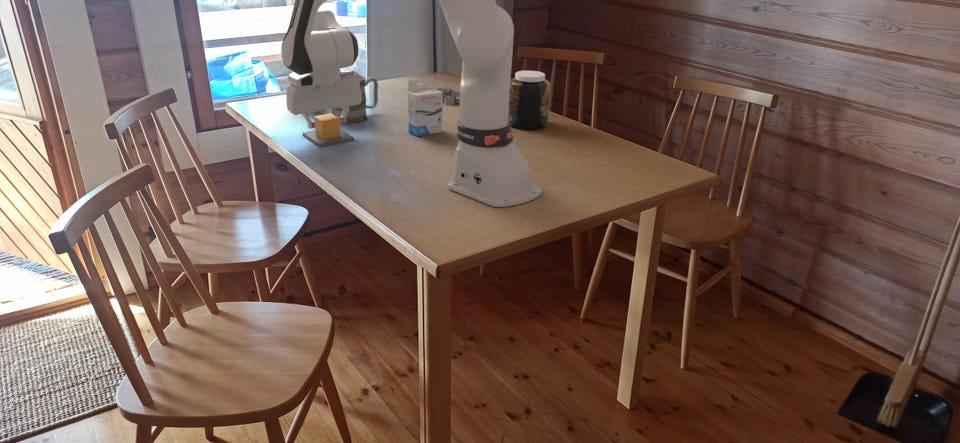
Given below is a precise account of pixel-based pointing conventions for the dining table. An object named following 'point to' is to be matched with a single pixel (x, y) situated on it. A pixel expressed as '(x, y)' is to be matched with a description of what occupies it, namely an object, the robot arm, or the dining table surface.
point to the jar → (529, 101)
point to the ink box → (424, 107)
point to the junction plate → (328, 141)
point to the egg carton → (446, 96)
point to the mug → (359, 111)
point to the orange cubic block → (327, 126)
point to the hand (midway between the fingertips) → (327, 125)
